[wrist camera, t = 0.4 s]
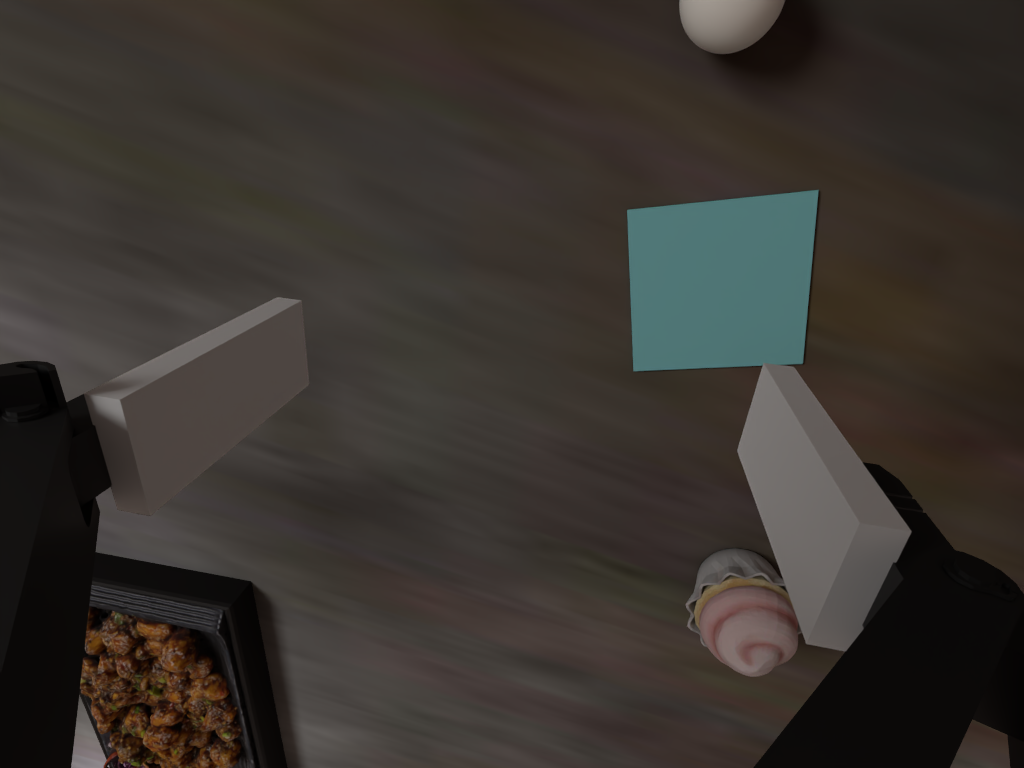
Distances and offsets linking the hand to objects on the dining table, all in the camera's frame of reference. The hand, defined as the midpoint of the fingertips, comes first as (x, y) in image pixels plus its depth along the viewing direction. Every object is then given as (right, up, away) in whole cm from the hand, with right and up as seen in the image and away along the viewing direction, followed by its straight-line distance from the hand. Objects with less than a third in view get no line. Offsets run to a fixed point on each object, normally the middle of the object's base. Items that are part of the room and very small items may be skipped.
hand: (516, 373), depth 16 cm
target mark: (+14, +7, +23) cm, 28 cm away
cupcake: (+20, -17, +33) cm, 42 cm away
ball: (+12, +21, +14) cm, 28 cm away
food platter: (-42, -40, +57) cm, 82 cm away
